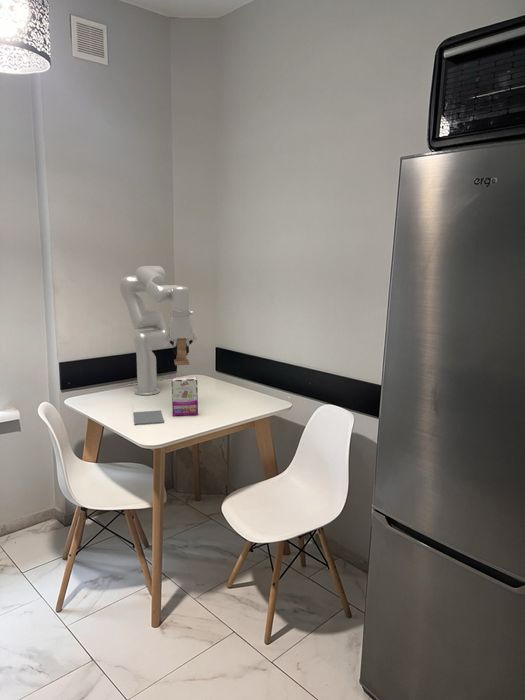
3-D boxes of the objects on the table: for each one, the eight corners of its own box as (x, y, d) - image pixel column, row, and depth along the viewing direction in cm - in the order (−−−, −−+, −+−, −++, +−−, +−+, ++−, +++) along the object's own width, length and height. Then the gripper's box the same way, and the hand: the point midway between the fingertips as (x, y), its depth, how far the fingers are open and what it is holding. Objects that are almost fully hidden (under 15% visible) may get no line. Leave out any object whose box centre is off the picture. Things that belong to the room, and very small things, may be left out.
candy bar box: (197, 411, 229) (197, 376, 226) (198, 415, 224) (197, 379, 221) (172, 413, 227) (171, 377, 224) (172, 416, 222) (171, 380, 219)
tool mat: (133, 413, 225) (133, 412, 225) (160, 411, 228) (160, 410, 228) (134, 425, 210) (134, 423, 210) (164, 423, 213) (164, 421, 213)
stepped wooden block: (174, 362, 233) (173, 336, 230) (187, 362, 234) (186, 336, 232) (175, 365, 227) (175, 338, 225) (189, 364, 229) (188, 338, 226)
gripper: (198, 313, 232) (198, 352, 236) (160, 313, 228) (161, 354, 231) (200, 315, 225) (201, 355, 229) (162, 315, 221) (163, 357, 224)
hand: (181, 354), depth 230 cm, fingers closed on stepped wooden block, 4 cm apart
